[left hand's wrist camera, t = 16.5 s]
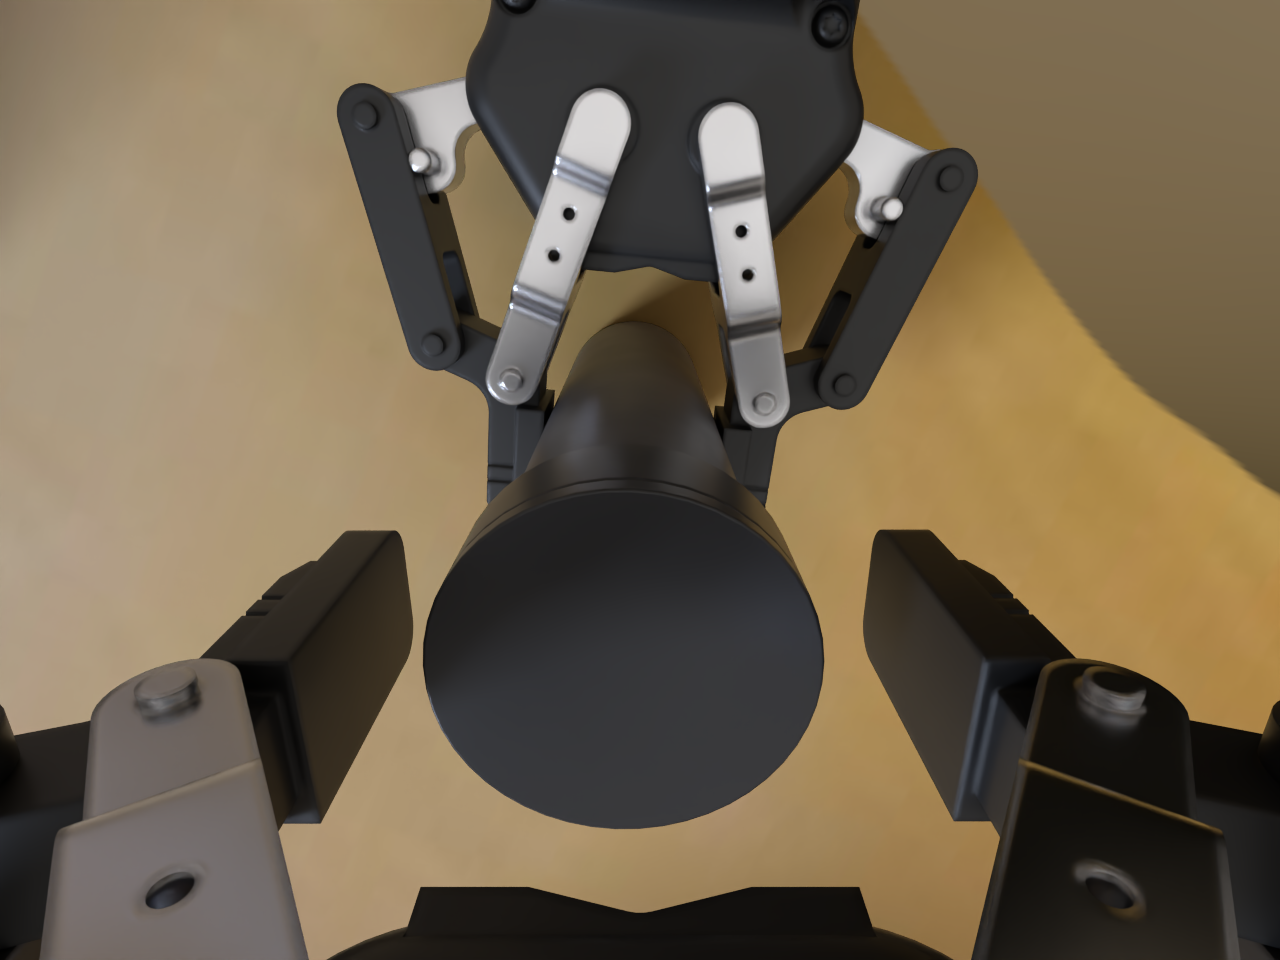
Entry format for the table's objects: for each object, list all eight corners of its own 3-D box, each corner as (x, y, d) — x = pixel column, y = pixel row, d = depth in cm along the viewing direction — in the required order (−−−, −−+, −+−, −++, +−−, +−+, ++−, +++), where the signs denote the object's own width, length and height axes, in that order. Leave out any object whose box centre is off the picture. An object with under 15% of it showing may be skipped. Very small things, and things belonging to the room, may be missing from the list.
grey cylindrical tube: (645, 467, 26) (653, 819, 11) (546, 396, 25) (403, 670, 10) (721, 373, 24) (853, 619, 9) (621, 294, 24) (589, 428, 8)
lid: (859, 531, 10) (903, 592, 8) (699, 782, 12) (709, 875, 10) (534, 381, 9) (512, 417, 8) (409, 671, 11) (368, 752, 9)
